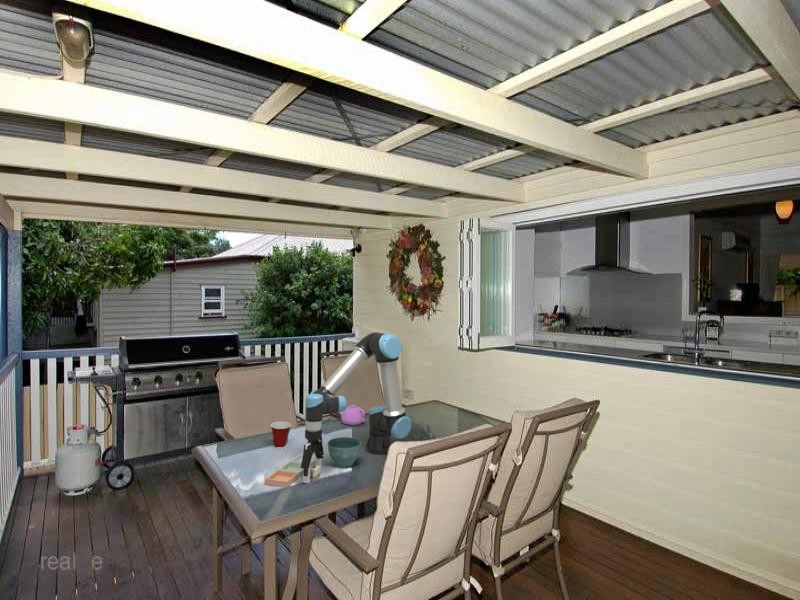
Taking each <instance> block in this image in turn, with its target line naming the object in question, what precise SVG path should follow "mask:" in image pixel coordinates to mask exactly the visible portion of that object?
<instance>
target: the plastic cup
mask: <svg viewBox="0 0 800 600" xmlns="http://www.w3.org/2000/svg"><path fill="white" fill-rule="evenodd" d="M270 427H271V432H272V438H273V439H272V440H273V445H274V446H273V447H274V448H277V447H282V448H285V447H286V444H287V440H288V437H289V436H288V435H289V431H290V428H291V427H292V423H290V422H289V421H288V422H287V421H274V422H272V423H271V424H270ZM284 446H285V447H284Z"/></svg>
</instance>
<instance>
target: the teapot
mask: <svg viewBox="0 0 800 600" xmlns="http://www.w3.org/2000/svg"><path fill="white" fill-rule="evenodd" d="M339 413H340V417H341V419H340V420H341V422H342V423H343V424H344V425H348V426H357V425H361V424H362V423H364V422H365V421H366V418H365V415H366V412H365V410H364V409H362V408H361V407H360V406H356V405H355V404H351V405H350V406H347V407H346V409H345V411H343V412H339Z"/></svg>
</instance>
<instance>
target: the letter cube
mask: <svg viewBox="0 0 800 600" xmlns="http://www.w3.org/2000/svg"><path fill="white" fill-rule="evenodd" d="M309 468H310V482H311V481H313V482H316V481H318V479H319V478H320V477H321V473H320V466H316V465H310V466H309Z"/></svg>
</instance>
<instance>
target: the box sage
mask: <svg viewBox="0 0 800 600" xmlns="http://www.w3.org/2000/svg"><path fill="white" fill-rule="evenodd" d="M290 461H291V460H290ZM290 461H288V462H287V463H285V464H284V465H282V466H281V467H280V468H278V469H277V470H282V471H289V472H296V473H299V479H300V478H302V477H303V470H304V469H302V468H301V463H298V462H290Z"/></svg>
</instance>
